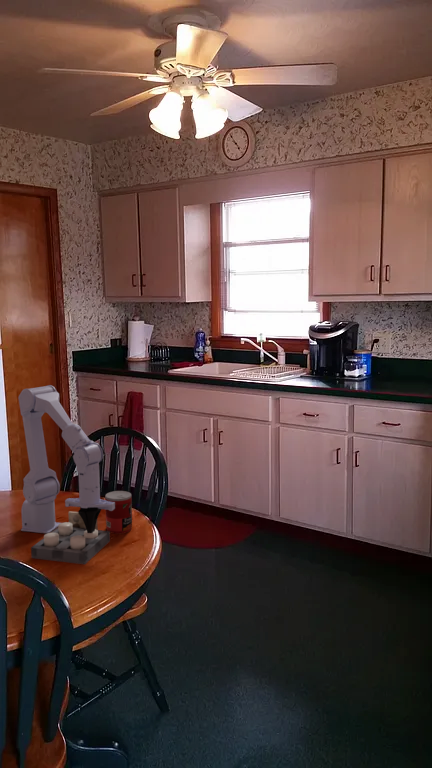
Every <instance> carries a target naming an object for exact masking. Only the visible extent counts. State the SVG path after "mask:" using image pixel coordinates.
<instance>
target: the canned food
mask: <svg viewBox="0 0 432 768" xmlns="http://www.w3.org/2000/svg"><path fill="white" fill-rule="evenodd" d="M104 497H105V498H104V500H106V501H110V502H115V509H114V510H113V511H109V510H106V509H105V528H106V531H110V534H115V535H116V534H118V535H119V534H126V533H128V532H130V531H131V530H132V528H133V508H132V507H133V506H132V505H133V504H132V503H133V502H132V500H133V499H132V493H131V492H129V491H125V490H114V491H110V492H107V493H105V496H104Z"/></svg>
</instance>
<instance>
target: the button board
mask: <svg viewBox="0 0 432 768" xmlns="http://www.w3.org/2000/svg"><path fill="white" fill-rule="evenodd" d="M84 531H86V529H84V528H74V527H73V534H71V535H70V536H62V535H59V545H58V546H56V547H46V546H44V537H43V538H42V539H40V540H39V541H38V542H37V543H35V544H34V545H32V546H31V547H30V550H31V552H30V553H31V559H36V560H45V561H53V562H62V563H69V564H79V565H87V563H88V562H89V561H90V560H92V558H94V557H95V556H96V555H97V554H98V553H99V552H100V551H101V550H102V549H103V548H105V546H106V545H107V544H108V543H110V542H111V533H110V531H107V530H100V529H98V537H97V538H95V539H90V538H85V548H84V549H83V550H73V549H71V547H70V538H71V537H73V536H77V535H81V536H84ZM50 533H58V534H59V530H58V527H57V528H55V529H54V530H53V531H51V532H50Z"/></svg>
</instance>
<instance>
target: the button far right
mask: <svg viewBox="0 0 432 768" xmlns="http://www.w3.org/2000/svg"><path fill="white" fill-rule="evenodd" d="M98 530H99V529H98ZM98 530H96V529H95V531H94V532H93V533H87V530H86V531H84V537H85V538H90V539H95V538H97V537H98Z"/></svg>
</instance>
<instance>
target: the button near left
mask: <svg viewBox="0 0 432 768" xmlns="http://www.w3.org/2000/svg"><path fill="white" fill-rule="evenodd" d="M43 538H44V546H46V547H56V546H58V545H59V534H58V533H51V532H50V533H44V535H43Z"/></svg>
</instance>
